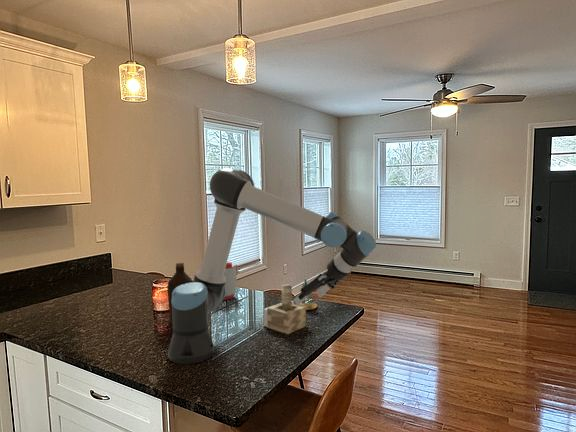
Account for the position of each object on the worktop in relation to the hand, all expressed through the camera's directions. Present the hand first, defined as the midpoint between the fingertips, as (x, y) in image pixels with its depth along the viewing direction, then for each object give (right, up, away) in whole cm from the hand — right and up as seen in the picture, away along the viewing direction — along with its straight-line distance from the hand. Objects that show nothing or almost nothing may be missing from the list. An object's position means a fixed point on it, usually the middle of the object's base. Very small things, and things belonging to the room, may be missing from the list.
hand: (307, 298), depth 148 cm
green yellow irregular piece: (0, -12, +31) cm, 33 cm away
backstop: (-11, -13, +15) cm, 22 cm away
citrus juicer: (-41, -10, +50) cm, 65 cm away
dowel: (-8, -10, +8) cm, 15 cm away
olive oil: (-52, -13, +15) cm, 56 cm away
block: (-8, -13, +8) cm, 17 cm away
